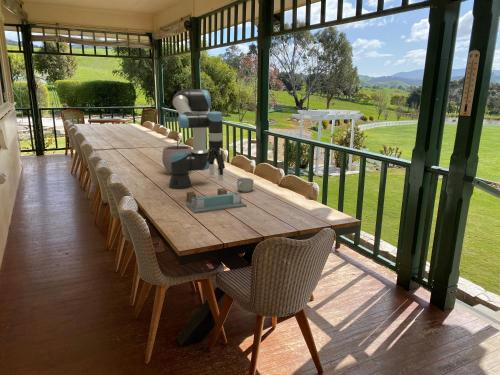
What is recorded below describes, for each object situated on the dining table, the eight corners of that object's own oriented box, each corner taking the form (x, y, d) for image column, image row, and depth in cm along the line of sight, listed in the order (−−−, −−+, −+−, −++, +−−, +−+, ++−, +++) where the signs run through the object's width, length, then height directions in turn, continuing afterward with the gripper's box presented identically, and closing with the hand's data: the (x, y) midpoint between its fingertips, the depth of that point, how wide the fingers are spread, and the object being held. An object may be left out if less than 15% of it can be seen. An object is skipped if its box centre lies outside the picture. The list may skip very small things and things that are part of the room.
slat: (195, 206, 219) (195, 197, 217) (234, 201, 229) (234, 193, 228) (197, 207, 216) (197, 199, 215) (236, 202, 226) (236, 194, 225)
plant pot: (199, 174, 302) (198, 136, 295) (170, 178, 289) (168, 138, 282) (185, 169, 321) (184, 132, 314) (158, 172, 308) (156, 134, 301)
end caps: (191, 205, 220) (190, 197, 218) (236, 200, 231) (236, 192, 230) (195, 209, 213) (194, 200, 212) (241, 203, 225) (241, 194, 224)
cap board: (186, 206, 223) (186, 204, 222) (236, 199, 236) (236, 198, 236) (194, 213, 210) (194, 211, 209) (246, 206, 223) (246, 204, 223)
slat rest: (186, 200, 234) (186, 192, 233) (223, 195, 244) (223, 187, 243) (189, 202, 229) (189, 194, 228) (227, 198, 239) (227, 190, 238)
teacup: (244, 188, 263) (244, 176, 261) (256, 190, 256) (257, 178, 254) (230, 192, 253) (230, 180, 251) (243, 195, 246) (243, 182, 244)
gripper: (201, 137, 222) (202, 173, 228) (217, 143, 201) (218, 183, 206) (213, 137, 226) (214, 172, 231) (230, 143, 204) (231, 182, 209)
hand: (216, 177), depth 219 cm, fingers open, 13 cm apart
